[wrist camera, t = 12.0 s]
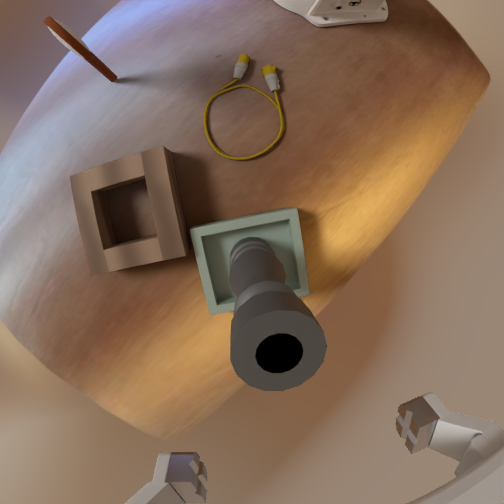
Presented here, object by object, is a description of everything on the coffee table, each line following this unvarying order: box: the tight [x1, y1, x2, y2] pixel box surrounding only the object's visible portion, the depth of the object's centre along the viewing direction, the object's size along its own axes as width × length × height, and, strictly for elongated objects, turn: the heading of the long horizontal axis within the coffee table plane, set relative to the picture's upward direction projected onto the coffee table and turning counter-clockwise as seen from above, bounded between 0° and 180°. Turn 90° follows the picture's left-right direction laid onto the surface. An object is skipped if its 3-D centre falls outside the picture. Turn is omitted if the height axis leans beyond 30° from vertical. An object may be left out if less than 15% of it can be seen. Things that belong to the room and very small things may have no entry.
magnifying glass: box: [44, 17, 118, 82], centre depth 25 cm, size 9×2×20 cm, turn 43°
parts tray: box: [190, 207, 310, 315], centre depth 40 cm, size 14×12×4 cm
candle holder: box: [229, 237, 327, 391], centre depth 28 cm, size 6×6×25 cm
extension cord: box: [204, 54, 285, 161], centre depth 37 cm, size 12×16×2 cm
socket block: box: [70, 146, 191, 275], centre depth 37 cm, size 14×14×5 cm
